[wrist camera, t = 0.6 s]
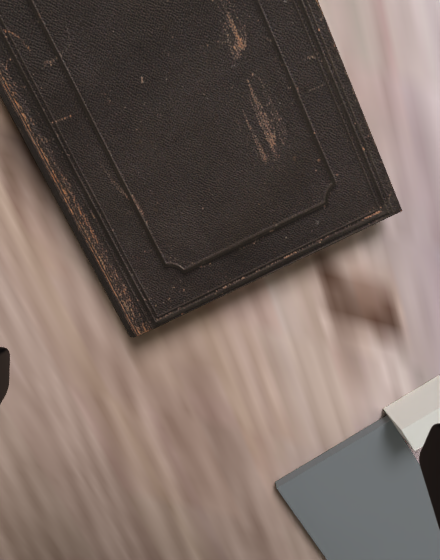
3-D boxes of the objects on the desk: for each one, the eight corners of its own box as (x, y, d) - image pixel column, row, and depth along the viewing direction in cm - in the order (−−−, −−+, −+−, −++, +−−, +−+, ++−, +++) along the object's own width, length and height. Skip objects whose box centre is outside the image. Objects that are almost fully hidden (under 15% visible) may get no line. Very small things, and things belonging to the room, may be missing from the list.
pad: (371, 618, 28) (374, 627, 27) (275, 481, 26) (276, 488, 25) (478, 559, 27) (484, 567, 26) (387, 415, 25) (391, 420, 25)
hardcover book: (208, -222, 20) (207, -277, 18) (384, 210, 24) (402, 210, 22) (-75, -65, 21) (-110, -98, 19) (135, 329, 25) (127, 341, 22)
